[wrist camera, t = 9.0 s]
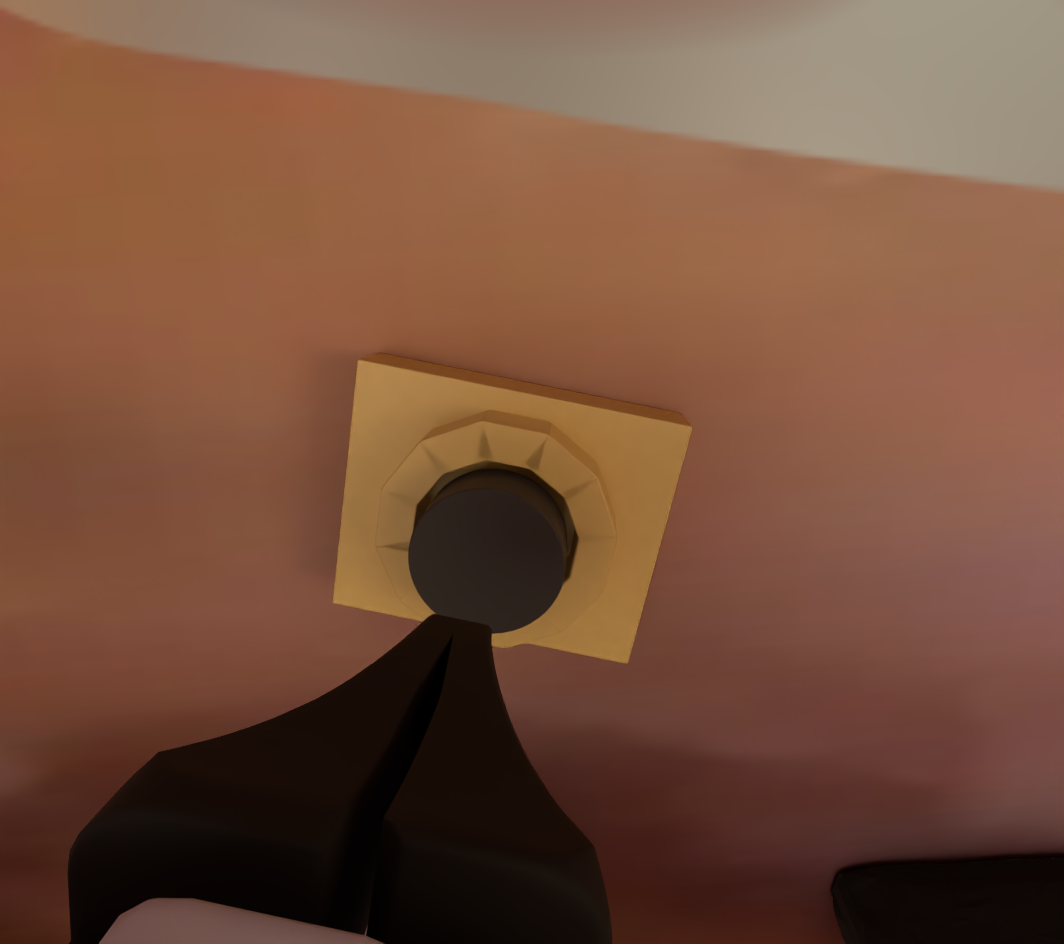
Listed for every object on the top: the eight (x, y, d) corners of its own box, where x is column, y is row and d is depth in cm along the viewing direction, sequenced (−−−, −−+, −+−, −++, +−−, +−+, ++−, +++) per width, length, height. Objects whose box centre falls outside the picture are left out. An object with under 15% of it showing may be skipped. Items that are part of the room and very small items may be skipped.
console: (682, 413, 22) (704, 439, 18) (623, 632, 24) (632, 696, 20) (378, 352, 22) (336, 365, 18) (353, 576, 24) (311, 629, 21)
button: (580, 484, 19) (580, 506, 17) (551, 613, 20) (549, 648, 18) (434, 454, 19) (418, 473, 17) (415, 585, 20) (398, 617, 18)
